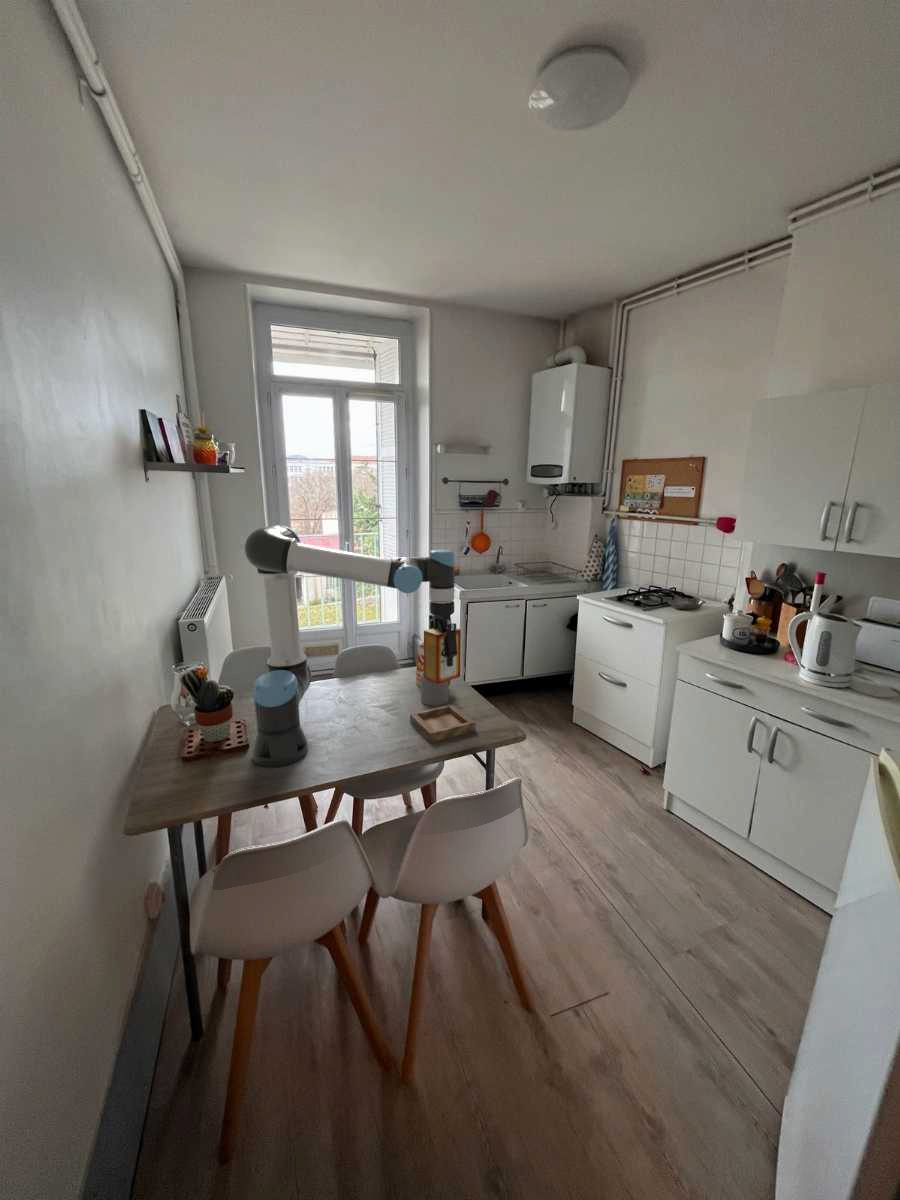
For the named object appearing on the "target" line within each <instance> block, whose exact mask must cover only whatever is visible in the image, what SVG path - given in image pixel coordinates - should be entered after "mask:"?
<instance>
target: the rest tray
mask: <svg viewBox="0 0 900 1200" xmlns="http://www.w3.org/2000/svg"><path fill="white" fill-rule="evenodd" d="M409 721H410V722H409V723H410V724H411V725H412V726H413V727H414V728H415V729H416V730H417V731H418V732H419V733H420V735H422V736H423V737H424V738H425V739H426V740H427V741H428V742H429V743H431V744H432V743H435V742H440V741H443V740H446V739H450V738H454V737H458V736H461V735H465V734H468V733H472V732H476V721H475V720H473V719H472V718H471V717H470V716H468V715H467V714H465V713H464V712H463V711H462V710H460V709H459V708H458V707H456V706H455V705H454V704H448V705H445V706H440V707H436V708H432V709H427V710H422V711H419V712H414V713H411V714H409Z"/></svg>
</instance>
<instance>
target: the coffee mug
mask: <svg viewBox="0 0 900 1200" xmlns="http://www.w3.org/2000/svg"><path fill="white" fill-rule="evenodd" d="M450 684H451V680H449V681H446V682H443V683H440V684H436V683H434V682H431V681H429V680H427V679H425V678H424V672H422V673H421V687H420V702H421V703H422V704H423V705H426V706H431V707H435V706H442V705H445V704H447V703H448V702H449V687H450V686H451V685H450Z"/></svg>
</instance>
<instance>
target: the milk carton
mask: <svg viewBox="0 0 900 1200" xmlns="http://www.w3.org/2000/svg"><path fill="white" fill-rule="evenodd" d="M420 644H421V645H419V646H418V652H417V659H416V671H415V684H416V683H417V684H418V685H419V686H420V688H421V673H422V672H424V641H423V642H420ZM417 684H416V685H417ZM418 685H417V686H418ZM419 686H418V687H419Z"/></svg>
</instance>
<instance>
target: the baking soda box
mask: <svg viewBox="0 0 900 1200" xmlns="http://www.w3.org/2000/svg"><path fill="white" fill-rule="evenodd" d="M444 632H445V631H444ZM446 636H447V633H446V632H445V633H441V632H440V630H438V629H429V628H428V629H425V630H423V642H424V678H425V679H427V680H429V681H431V682H434V683H436V684H440V683H443V682H446V681H449V680H454V679H455V680H456V679H457V678H460V677H461V629H460V628H457V627H456V643H457V655H455V656H453V675H450V676H444V656H443V655H445V649H444V637H446Z"/></svg>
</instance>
